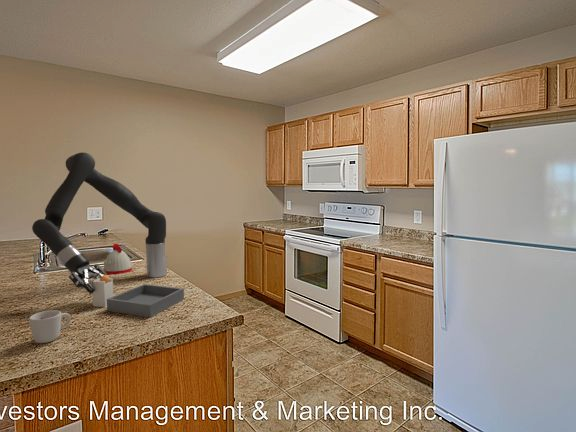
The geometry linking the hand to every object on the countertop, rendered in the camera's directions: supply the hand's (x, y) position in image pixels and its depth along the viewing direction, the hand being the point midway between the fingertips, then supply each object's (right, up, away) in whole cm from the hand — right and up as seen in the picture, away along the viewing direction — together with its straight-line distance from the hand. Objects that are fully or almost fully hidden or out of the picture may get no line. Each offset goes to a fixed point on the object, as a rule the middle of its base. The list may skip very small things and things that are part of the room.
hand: (100, 288), depth 135 cm
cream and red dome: (-19, -1, +51) cm, 54 cm away
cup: (+1, -9, -29) cm, 30 cm away
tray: (+18, -6, 0) cm, 20 cm away
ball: (+2, +4, -1) cm, 4 cm away
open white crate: (+1, -6, +1) cm, 6 cm away
